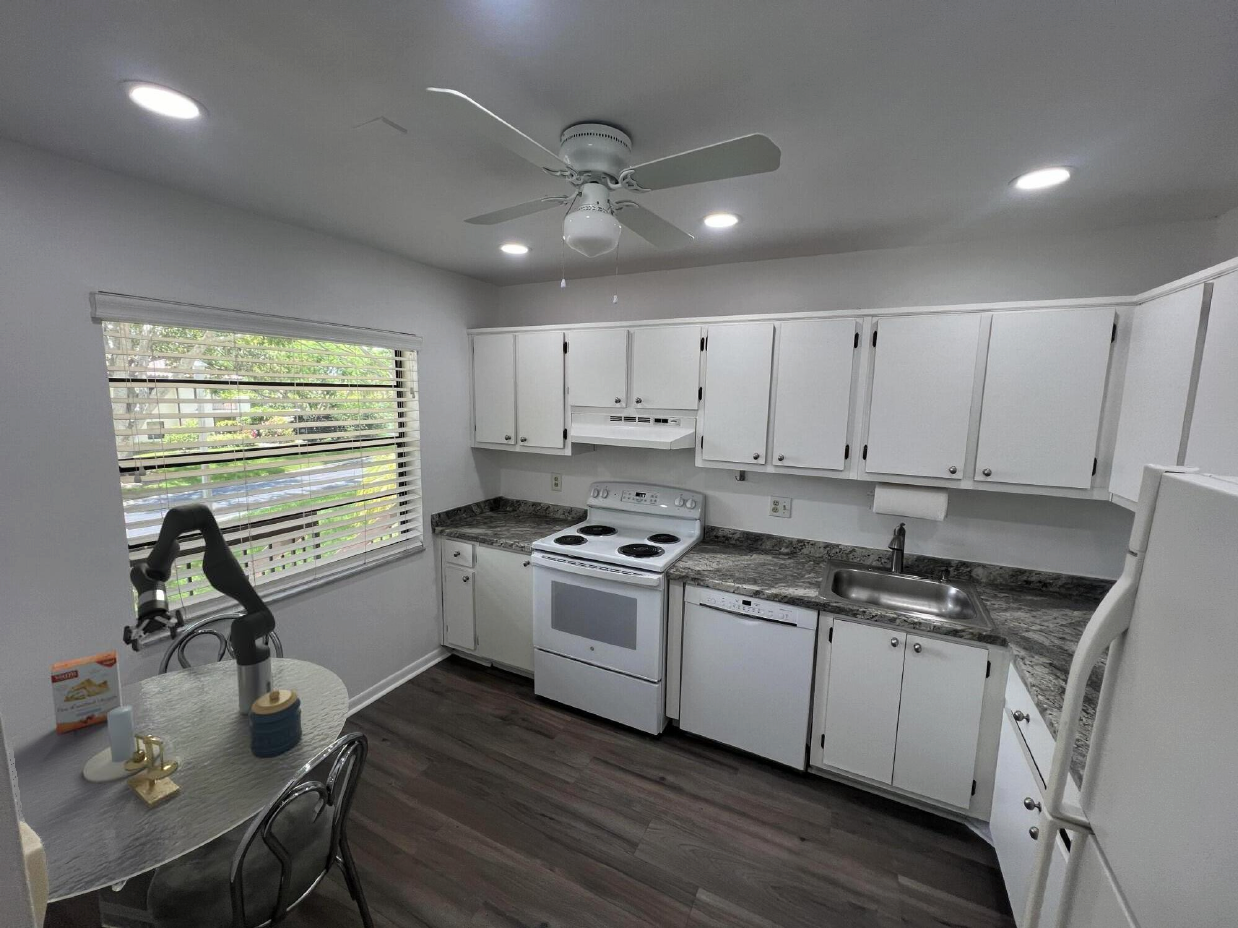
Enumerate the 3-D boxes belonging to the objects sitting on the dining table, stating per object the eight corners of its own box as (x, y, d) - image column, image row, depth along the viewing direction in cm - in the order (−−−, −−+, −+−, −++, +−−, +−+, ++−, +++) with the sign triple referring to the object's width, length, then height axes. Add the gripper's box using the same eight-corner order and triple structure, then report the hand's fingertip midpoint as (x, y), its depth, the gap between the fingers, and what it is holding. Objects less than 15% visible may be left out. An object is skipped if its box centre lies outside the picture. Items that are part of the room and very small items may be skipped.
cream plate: (170, 734, 152) (169, 730, 151) (152, 770, 138) (152, 765, 138) (98, 751, 144) (97, 746, 144) (72, 790, 130) (71, 785, 130)
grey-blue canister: (139, 747, 144) (134, 703, 142) (133, 758, 140) (128, 713, 138) (115, 752, 142) (111, 708, 140) (108, 764, 137) (103, 718, 135)
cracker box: (57, 735, 149) (49, 671, 146) (59, 725, 153) (52, 663, 150) (122, 716, 159) (116, 656, 156) (123, 707, 163) (117, 648, 160)
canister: (312, 733, 155) (310, 682, 153) (275, 763, 143) (272, 707, 140) (278, 725, 158) (276, 675, 155) (239, 753, 145) (235, 699, 143)
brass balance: (185, 797, 130) (180, 739, 127) (155, 814, 124) (149, 753, 122) (150, 765, 140) (145, 710, 137) (121, 779, 134) (115, 722, 132)
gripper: (119, 608, 158) (119, 647, 148) (177, 591, 166) (180, 626, 157) (128, 623, 162) (129, 661, 153) (184, 605, 170) (188, 640, 161)
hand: (155, 643), depth 155 cm, fingers open, 8 cm apart
